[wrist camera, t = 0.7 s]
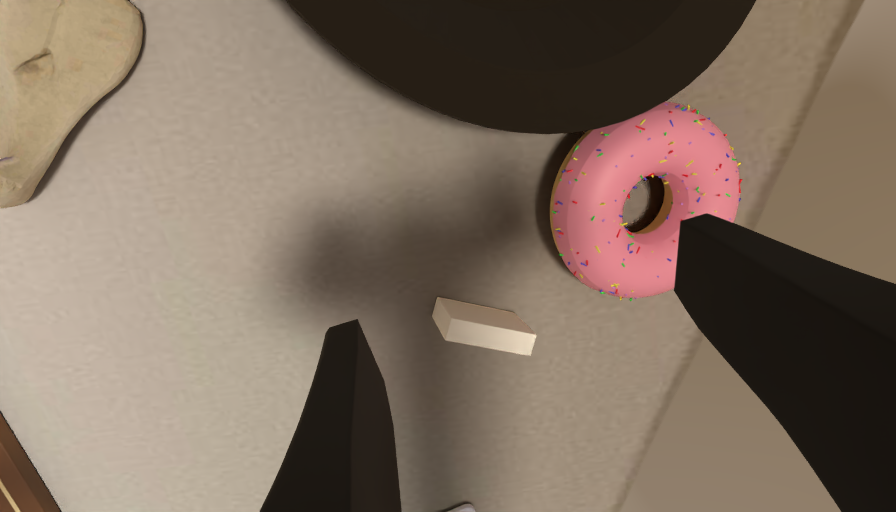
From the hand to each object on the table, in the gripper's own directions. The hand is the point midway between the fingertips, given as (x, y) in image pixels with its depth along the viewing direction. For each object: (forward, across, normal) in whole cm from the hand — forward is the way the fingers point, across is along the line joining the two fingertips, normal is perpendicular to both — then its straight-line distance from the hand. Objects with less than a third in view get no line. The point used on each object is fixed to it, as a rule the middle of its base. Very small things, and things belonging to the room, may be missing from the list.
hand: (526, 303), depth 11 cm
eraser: (+14, 0, +14) cm, 20 cm away
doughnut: (+16, -11, +10) cm, 22 cm away
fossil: (+19, +16, -3) cm, 26 cm away
